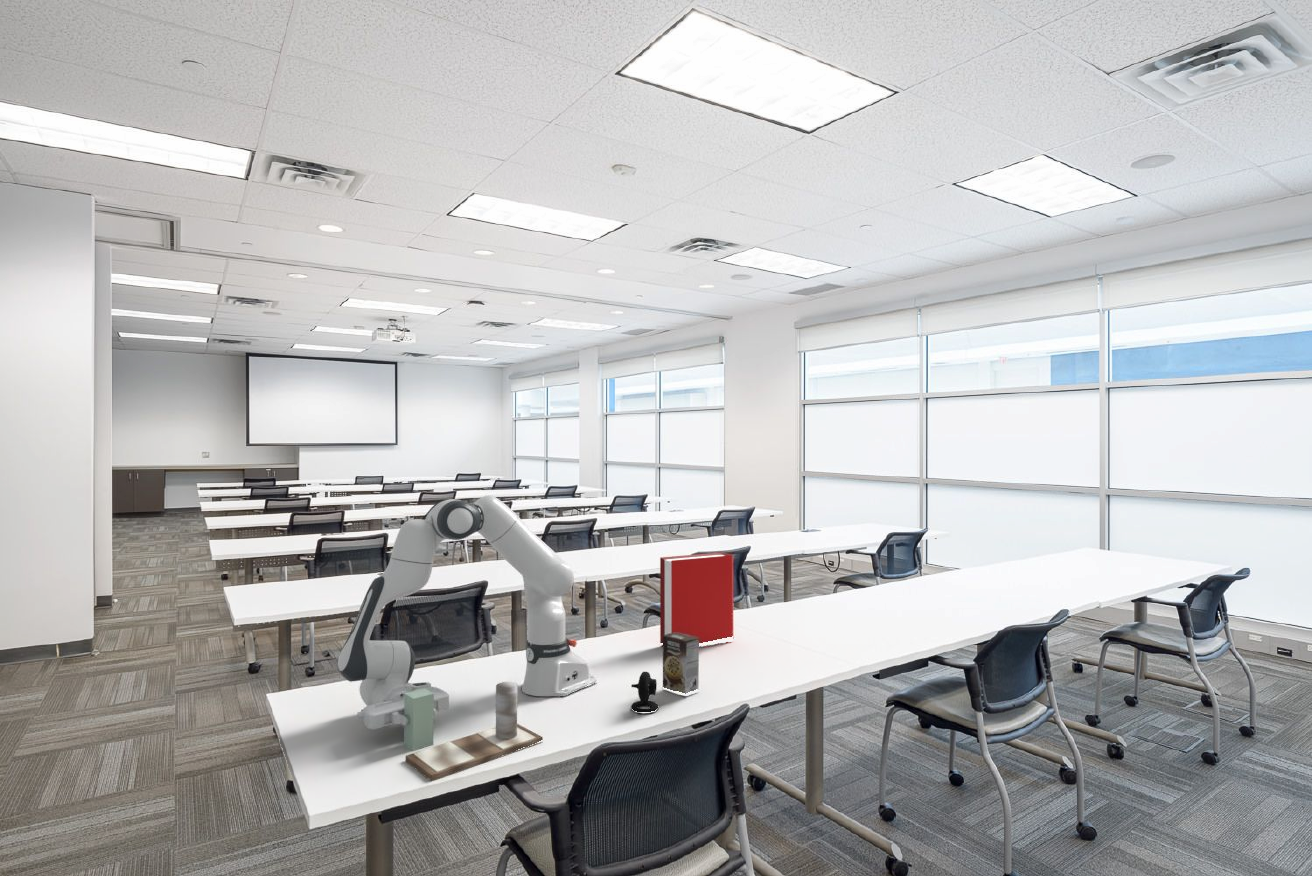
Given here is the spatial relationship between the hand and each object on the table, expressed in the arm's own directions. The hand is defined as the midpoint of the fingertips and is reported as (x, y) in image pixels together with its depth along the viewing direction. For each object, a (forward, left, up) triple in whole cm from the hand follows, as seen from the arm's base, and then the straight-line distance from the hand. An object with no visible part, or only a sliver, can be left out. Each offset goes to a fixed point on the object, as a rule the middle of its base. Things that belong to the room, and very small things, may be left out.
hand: (420, 717), depth 160 cm
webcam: (-54, +20, -7) cm, 58 cm away
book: (-111, -13, -7) cm, 112 cm away
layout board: (-8, +12, -7) cm, 16 cm away
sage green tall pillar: (0, -1, -7) cm, 7 cm away
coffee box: (-71, +17, -7) cm, 73 cm away
